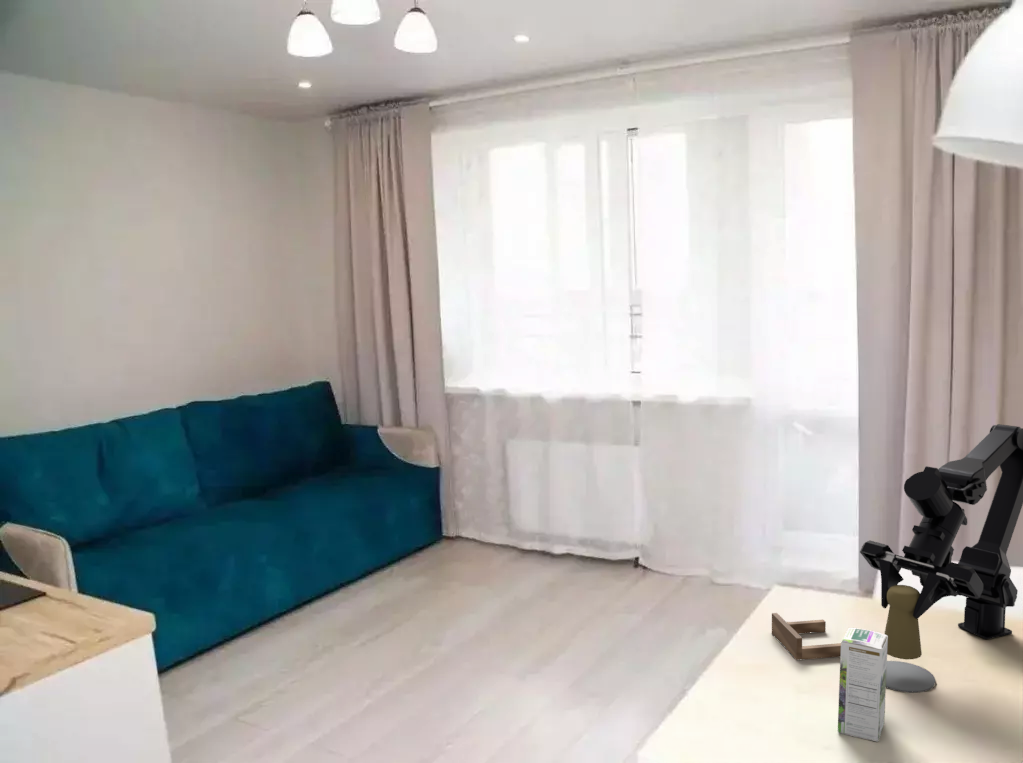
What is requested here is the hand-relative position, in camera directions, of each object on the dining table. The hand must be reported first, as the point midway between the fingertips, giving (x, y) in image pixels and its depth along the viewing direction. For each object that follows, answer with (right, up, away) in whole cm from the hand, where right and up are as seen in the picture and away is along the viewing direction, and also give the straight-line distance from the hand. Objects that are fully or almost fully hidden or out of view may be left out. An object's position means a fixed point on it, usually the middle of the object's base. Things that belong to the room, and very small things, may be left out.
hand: (898, 612), depth 141 cm
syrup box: (-11, -14, -12) cm, 22 cm away
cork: (+1, -7, +2) cm, 7 cm away
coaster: (+1, -11, +2) cm, 12 cm away
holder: (-9, -10, +16) cm, 20 cm away
